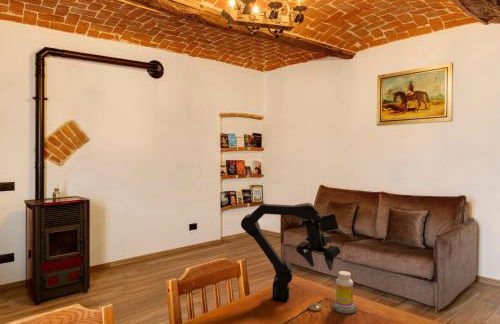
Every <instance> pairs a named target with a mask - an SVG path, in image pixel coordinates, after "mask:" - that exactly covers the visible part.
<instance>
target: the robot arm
mask: <svg viewBox="0 0 500 324" xmlns="http://www.w3.org/2000/svg"><path fill="white" fill-rule="evenodd" d="M264 215H273V216H274V215H277V216H292V217H297V218H299V219H301V221H300V222H299V227H304V230H305V233H306V237H305V238H304V240H305V241H301V242H300V243H299V244H298V245H296V248H295V249H296V253H297V254H299V255H300V256H302V257H303V259H304V260H305V261H306V263H308V265H310V266H311V268H314V266H315V262H314V258H313V252H316V253H322V254H323V257H324V261H325V263H326V266H327V269H329V272H330V271H332V270H333V267H334V266H333V265H334V260H335V258H336V257H338V255H340V253H341V249H340V247H339V246H336V245H330V246H327V245H328V244H332V235H330V234H324V233H328V232H333V231H338V230H339V225H338V224H339V223H338V221H337V218H336V215H335V212H331V213H328V214H324V215H323V214H321V213H320V212H319V211H318V210H316V208H315V205H314V204H313V203H310V202H306V203H299V204H294V205H291V204H290V205H289V204H274V203H273V204H270V203H261V204H260V205H259V206H258V207H257V208H256V209H255V210H254V211H253V212H251V213H250V214H249V213H248V214H246V215H245V216H244V217H243V218H242V219H241V222H240V226H241V229H243V231H245V232H246V233H247V235H249V236H250V237H252V238H253V239H254V240H255V242H256V243H257V245H258V246H259V248H260V249H261V250H262V252H263V253H264V255H265V256H266V257H267V259H268V260H269V262H270V263H271V265H272V266H273V269H274V272H275V274H274V276H273V282H272V296H271V301H274V302H279V303H280V302H282V303H287V302H288V300H289V299H290V297H291V288H290V286H289V283H291V282H292V280H293V273H294V272H293V271H294V270H293V265H291V264H290V261H289V260H288V259H285V260H284V259H282V258H281V256H280V255H279V254H278V253H277V251H276V250H275V249H274V247H273V245H272V244H271V242H270V241H269V240H268V238H267V237H266V235H265V234H264V232H263V231H262V229H261V225H260V224H259V222H258V221H259V220H261V218H263V216H264ZM321 231H324V233H321ZM326 246H327V247H326Z"/></svg>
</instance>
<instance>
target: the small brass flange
mask: <svg viewBox="0 0 500 324" xmlns="http://www.w3.org/2000/svg"><path fill="white" fill-rule="evenodd" d="M308 309H309V310H310V311H312V312H321V311H322V309H323V308H322V305H321V304H320V303H317V302H311V303H309V304H308Z"/></svg>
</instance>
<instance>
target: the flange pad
mask: <svg viewBox="0 0 500 324" xmlns="http://www.w3.org/2000/svg"><path fill="white" fill-rule="evenodd" d="M332 309H333V311H335V312H336V313H338V314H341V315H353V314H355V313H356V312H357V306H356V305H355V304H354V303H353V305H352V307H350V308H342V307H339V306H337V305H336V303H335V302H333V303H332Z"/></svg>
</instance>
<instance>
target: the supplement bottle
mask: <svg viewBox="0 0 500 324" xmlns="http://www.w3.org/2000/svg"><path fill="white" fill-rule="evenodd" d="M351 275H352V273H351V272H350V271H348V270H347V271H346V270H340V271H338V277H337V278H336V279H335V296H334V297H335V301H334V303H336V305H337V306H339V307H342V308H350V307H352V305H353V304H354V302H353V301H354V300H353V299H354V281H353V280H352V279H351V278H352V277H351Z"/></svg>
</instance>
